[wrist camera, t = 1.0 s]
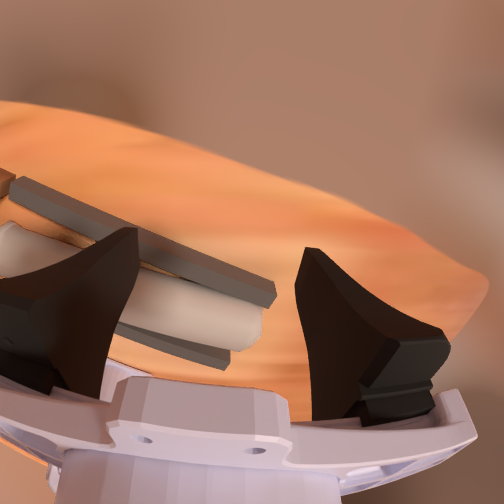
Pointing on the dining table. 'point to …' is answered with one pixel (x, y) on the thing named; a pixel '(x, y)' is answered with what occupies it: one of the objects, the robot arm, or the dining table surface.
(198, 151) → the dining table surface
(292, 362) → the dining table surface
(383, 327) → the robot arm
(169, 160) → the dining table surface
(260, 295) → the guide rails
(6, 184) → the socket block
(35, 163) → the dining table surface
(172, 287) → the tube
